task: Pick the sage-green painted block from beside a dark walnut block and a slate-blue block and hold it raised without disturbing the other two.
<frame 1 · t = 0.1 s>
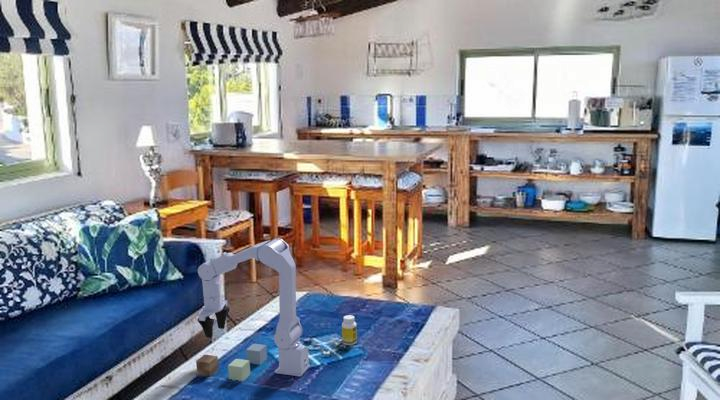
hand: (215, 332, 213), 10 cm above the table, tool pointing down, fingers open, 7 cm apart
supplement bottle: (349, 342, 225), on the table
sage block: (239, 377, 202), on the table
slate block: (257, 360, 213), on the table
walnut block: (208, 372, 206), on the table
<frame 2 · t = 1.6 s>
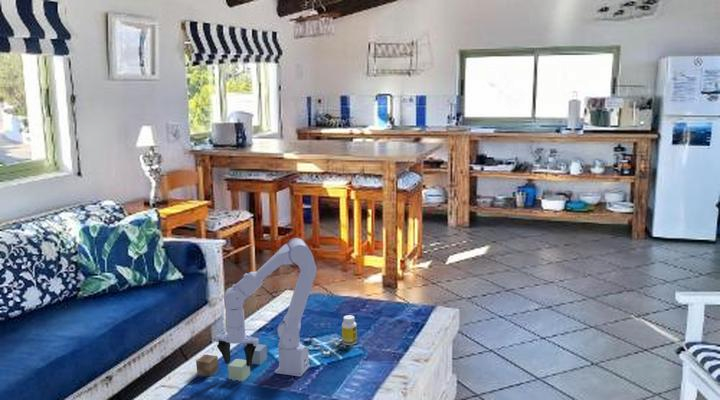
hand: (238, 363, 201), 5 cm above the table, tool pointing down, fingers open, 7 cm apart
nothing on the table moved.
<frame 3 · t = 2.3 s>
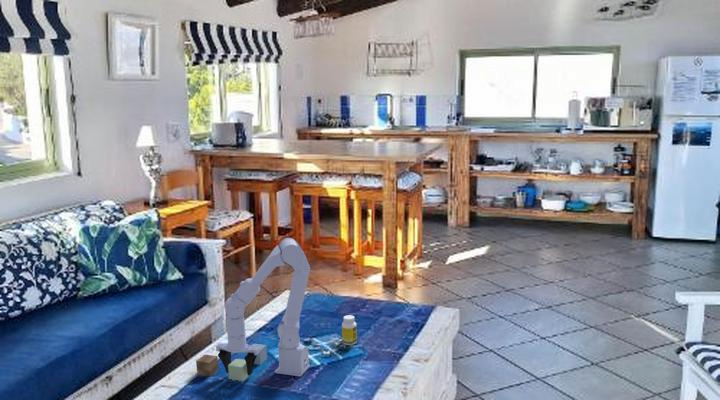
hand: (239, 372, 202), 1 cm above the table, tool pointing down, fingers open, 7 cm apart
nothing on the table moved.
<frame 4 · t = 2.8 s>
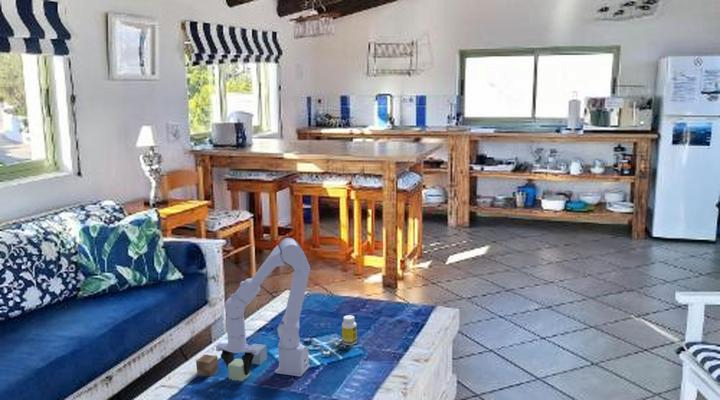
hand: (239, 372, 202), 1 cm above the table, tool pointing down, fingers closed on sage block, 5 cm apart
sage block: (239, 376, 202), on the table, touching gripper
everything else where it was.
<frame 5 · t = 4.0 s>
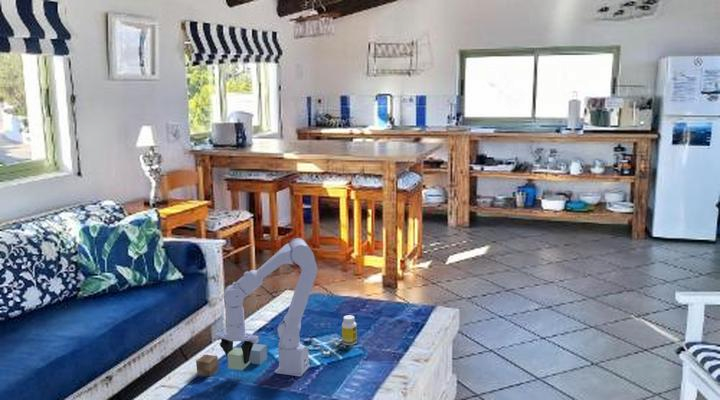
hand: (238, 361, 201), 5 cm above the table, tool pointing down, fingers closed on sage block, 5 cm apart
sage block: (239, 365, 201), point 4 cm above the table, touching gripper
everything else where it was.
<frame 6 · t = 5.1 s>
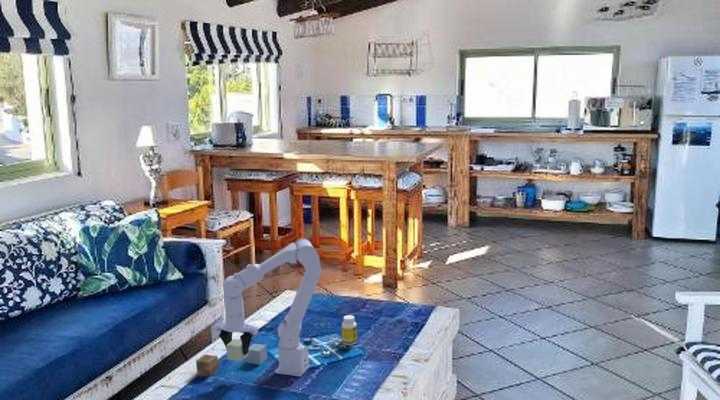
hand: (238, 352, 200), 8 cm above the table, tool pointing down, fingers closed on sage block, 5 cm apart
sage block: (238, 357, 201), point 7 cm above the table, touching gripper
everything else where it was.
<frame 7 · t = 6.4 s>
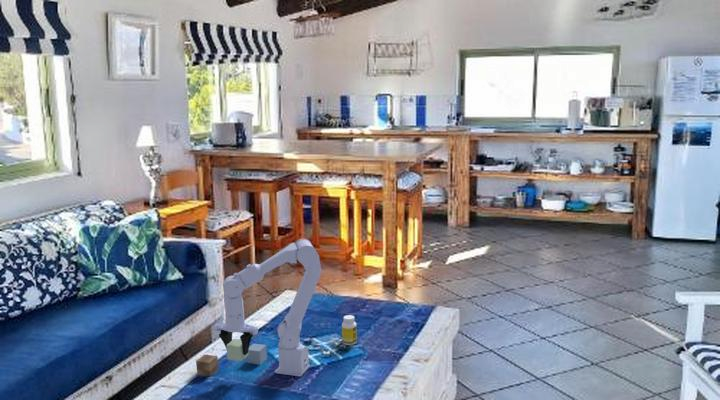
hand: (238, 352, 200), 8 cm above the table, tool pointing down, fingers closed on sage block, 5 cm apart
sage block: (238, 357, 201), point 7 cm above the table, touching gripper
everything else where it was.
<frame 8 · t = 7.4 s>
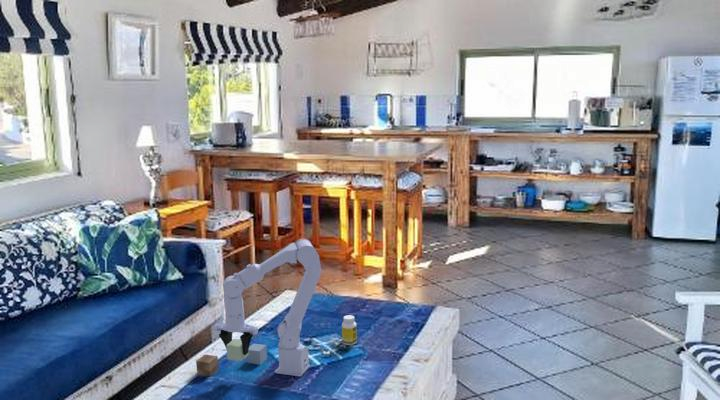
hand: (238, 352, 200), 8 cm above the table, tool pointing down, fingers closed on sage block, 5 cm apart
sage block: (238, 357, 201), point 7 cm above the table, touching gripper
everything else where it was.
at the end: sage block point 6.9 cm above the table; walnut block moved 0.1 cm from its start; slate block moved 0.1 cm from its start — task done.
